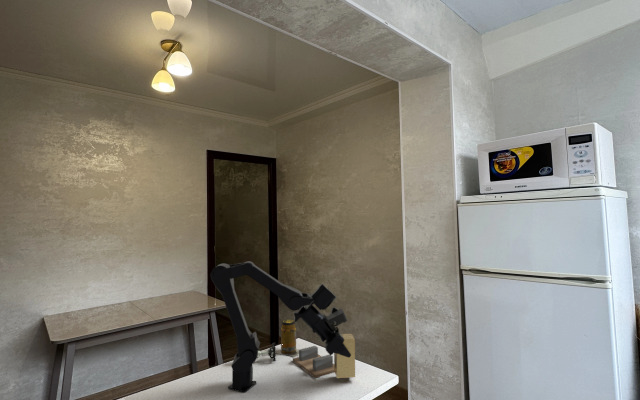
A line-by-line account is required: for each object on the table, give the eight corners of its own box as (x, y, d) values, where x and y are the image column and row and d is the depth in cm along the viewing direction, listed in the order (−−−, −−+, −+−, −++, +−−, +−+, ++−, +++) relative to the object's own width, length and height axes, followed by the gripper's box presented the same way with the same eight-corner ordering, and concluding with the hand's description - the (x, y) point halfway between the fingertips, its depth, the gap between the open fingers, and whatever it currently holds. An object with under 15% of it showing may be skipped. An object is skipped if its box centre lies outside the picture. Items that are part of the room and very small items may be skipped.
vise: (339, 370, 112) (339, 357, 112) (315, 378, 107) (314, 364, 107) (315, 354, 126) (315, 343, 126) (292, 360, 121) (292, 348, 121)
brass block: (336, 378, 103) (336, 339, 104) (334, 371, 108) (334, 334, 109) (355, 377, 104) (354, 338, 105) (351, 370, 109) (351, 333, 110)
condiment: (286, 347, 134) (286, 318, 135) (304, 350, 130) (303, 320, 131) (276, 353, 128) (276, 322, 129) (294, 357, 124) (294, 325, 125)
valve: (242, 367, 116) (275, 364, 118) (242, 348, 116) (275, 346, 118) (242, 360, 122) (274, 357, 124) (243, 342, 123) (274, 339, 125)
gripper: (337, 309, 98) (372, 344, 99) (328, 296, 117) (358, 326, 117) (311, 336, 97) (347, 373, 97) (306, 319, 115) (337, 349, 116)
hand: (348, 353), depth 107 cm, fingers closed on brass block, 5 cm apart
